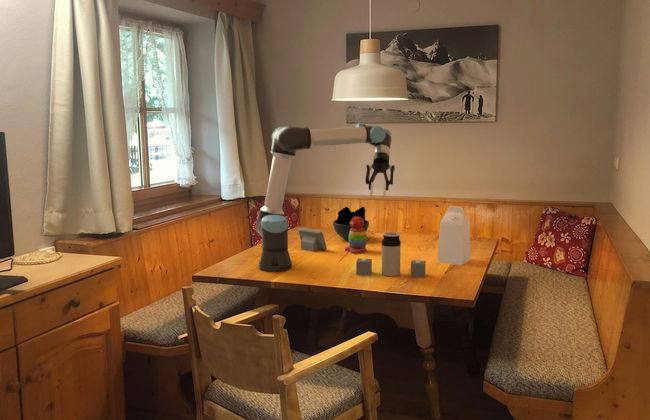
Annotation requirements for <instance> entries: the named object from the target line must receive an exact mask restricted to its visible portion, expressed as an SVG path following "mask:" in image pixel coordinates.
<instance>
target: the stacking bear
mask: <svg viewBox="0 0 650 420" xmlns="http://www.w3.org/2000/svg"><path fill="white" fill-rule="evenodd" d="M350 225H351V227H352V228H351V229H350V232H349V240H348V245H349V246H345V248H344V251H345V252H350V253H351V254H353V255H357V254H358V255H359V254H364V253H366V252H367V247H366V246H367V242H368V237H367V236H368V235H367V231H365V229H364V228H363V225H364V220H363V219H362V218H361V217H356V216H354V218H353V219H352V220H351V221H350Z"/></svg>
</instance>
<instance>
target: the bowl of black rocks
mask: <svg viewBox="0 0 650 420" xmlns="http://www.w3.org/2000/svg"><path fill="white" fill-rule="evenodd" d="M354 216H356V217H361V218H362V219H363V220H364V225H363V228H364V229H365V231H366V232H367V231H368V228H369V225H370V222H369V221H368V220H366V207H365V206H361V207H360V208H357V209H356V210H355V211H351V209H350V208H349V207H348V206H345V207H343V208H342V209H340V210H338V213H337V218H336V219H335V220H333V222H332V226H333V229H334V231H335V233H336V235H338V236H339V237H340V238H342V239H344V240H347V241H349V232H350V229H351V228H352V227H351V225H350V221H351V220H352V219H353V218H354Z"/></svg>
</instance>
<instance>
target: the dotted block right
mask: <svg viewBox="0 0 650 420" xmlns="http://www.w3.org/2000/svg"><path fill="white" fill-rule="evenodd" d="M426 266H427V265H426V260H419V259H418V260H415V259H414V260H411V261H410V278H423V279H425V278H426Z"/></svg>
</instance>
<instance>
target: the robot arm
mask: <svg viewBox="0 0 650 420" xmlns="http://www.w3.org/2000/svg"><path fill="white" fill-rule="evenodd" d="M350 144H351V145H353V144H354V145H355V144H369V145H371V146H373V147H374V150H373V151H374V152H373V159H372V160H373V161H372V163H371V164H370V165H369V164H366V165H365V167H366V173H365V180H364V181H365V185H368V190H369V191H370V192H369V194H370V197H371V198H372V197H373V193H374V181H375V178H376V177H377V175H378V174H379V173H380V174H383V176H384V181H385V182H384V183H383V193H382V194H383V198H386V196H387V195H386V193H387V191H389V186H390V185H394V172H395V170H396V168H395V167H396V166H395V165H390V157H391V145H392V133H391V131H390V130H388V129H386V128H383V127H381V126H379V125H367V124H365V123H362V122H358V123H356V124H355V126H353V127H351V126H350V127H335V128H334V127H333V128H316V129H311V128H310V127H309V126H307V127H301V126H293V125H287V124H286V125H285V124H284V125H280V126H278V127H276V128H275V129H274V131H273V132H272V134H271V149H270V153H271V155H272V162H271V167H270V171H269V177H268V182H267V188H266V193H265V198H264V206H262V207H261V208H259V209H260V210H259V213H258V217H257V219H256V221H255V230H256V232H257V234H258V235H259V236H260V237H261V244H262V246H261V255H260V259H259V262H258V269H259V270H261V271H264V272H283V271H288V270H291V269H292V268H293V262H292V260H291V255H290V253H289V241H288V240H289V236H288V235H289V233H288V231H289V230H288V227H289V223H288V219H287V217H286V216H285V212H284V211H283V205H284V201H285V195H286V188H287V185H288V178H289V173H290V167H291V162H292V160H293V159H294V158H295V157H296V154H297V153H296V152H298V151H302V150H310V149H311V148H313V147H322V146H323V147H324V146H338V145H340V146H342V145H350ZM372 169H373V172H372V174H371V171H372ZM388 170H390V171H389V172H390V173H389V174H390V175H389V177H388V174H387V171H388ZM370 175H371V176H370Z"/></svg>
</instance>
